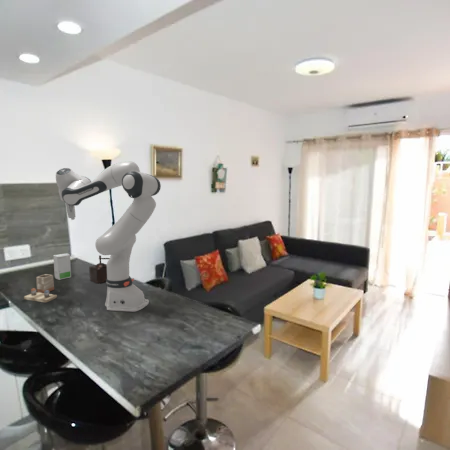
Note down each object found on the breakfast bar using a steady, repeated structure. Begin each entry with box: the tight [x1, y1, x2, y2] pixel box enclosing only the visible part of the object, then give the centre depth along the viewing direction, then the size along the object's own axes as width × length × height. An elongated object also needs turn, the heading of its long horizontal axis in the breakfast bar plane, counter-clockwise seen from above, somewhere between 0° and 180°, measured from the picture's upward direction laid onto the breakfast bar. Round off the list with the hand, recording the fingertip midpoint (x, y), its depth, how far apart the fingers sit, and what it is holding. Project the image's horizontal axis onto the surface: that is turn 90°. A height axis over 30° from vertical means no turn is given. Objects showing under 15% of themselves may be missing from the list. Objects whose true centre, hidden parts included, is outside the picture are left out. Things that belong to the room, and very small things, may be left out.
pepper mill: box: [88, 254, 110, 284], centre depth 193 cm, size 16×11×18 cm
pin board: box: [23, 287, 58, 304], centre depth 161 cm, size 15×7×5 cm, turn 74°
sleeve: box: [35, 273, 55, 293], centre depth 172 cm, size 6×6×9 cm
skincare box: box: [52, 253, 72, 281], centre depth 195 cm, size 8×7×16 cm
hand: (72, 213), depth 174 cm, fingers open, 8 cm apart
